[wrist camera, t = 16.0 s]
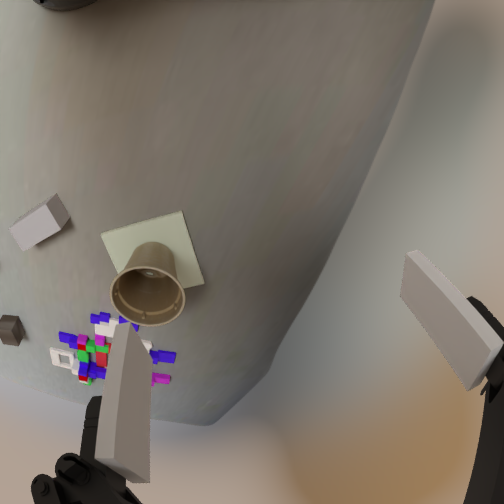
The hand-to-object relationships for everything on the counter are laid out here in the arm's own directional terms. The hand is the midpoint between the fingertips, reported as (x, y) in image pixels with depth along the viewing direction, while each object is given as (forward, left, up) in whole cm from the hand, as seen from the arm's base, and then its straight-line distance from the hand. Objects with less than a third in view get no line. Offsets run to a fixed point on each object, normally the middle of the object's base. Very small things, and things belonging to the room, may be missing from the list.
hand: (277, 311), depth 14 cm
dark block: (+18, -46, -29) cm, 57 cm away
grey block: (+1, -27, -29) cm, 40 cm away
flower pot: (+12, -13, -28) cm, 33 cm away
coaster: (+12, -13, -29) cm, 34 cm away
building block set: (+29, -29, -29) cm, 51 cm away
